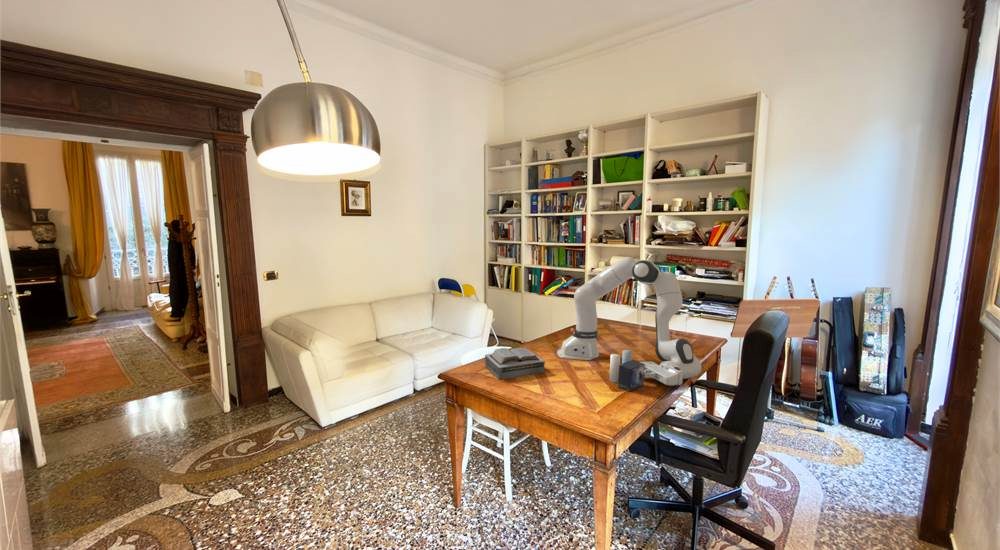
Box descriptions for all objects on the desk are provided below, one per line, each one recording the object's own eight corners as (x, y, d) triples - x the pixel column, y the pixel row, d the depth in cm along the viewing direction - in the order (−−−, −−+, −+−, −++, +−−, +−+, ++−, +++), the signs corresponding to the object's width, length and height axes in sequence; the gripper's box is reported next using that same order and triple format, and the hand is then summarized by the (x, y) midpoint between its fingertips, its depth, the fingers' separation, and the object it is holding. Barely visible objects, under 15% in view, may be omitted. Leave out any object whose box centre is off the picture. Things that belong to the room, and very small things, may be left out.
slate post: (622, 377, 186) (623, 352, 184) (620, 374, 190) (621, 349, 189) (632, 377, 186) (633, 352, 184) (629, 374, 190) (630, 349, 189)
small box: (630, 392, 170) (631, 368, 168) (617, 387, 175) (618, 364, 173) (644, 386, 176) (645, 363, 175) (631, 381, 181) (632, 359, 180)
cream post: (610, 382, 180) (611, 356, 179) (608, 378, 185) (609, 353, 183) (620, 382, 180) (621, 356, 179) (618, 378, 184) (619, 353, 183)
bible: (483, 363, 206) (483, 345, 204) (534, 360, 211) (534, 342, 209) (491, 381, 183) (491, 360, 182) (547, 376, 188) (548, 356, 187)
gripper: (653, 357, 190) (628, 360, 186) (685, 372, 171) (658, 376, 166) (652, 369, 191) (628, 373, 187) (684, 386, 171) (657, 390, 167)
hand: (642, 374), depth 176 cm, fingers closed
